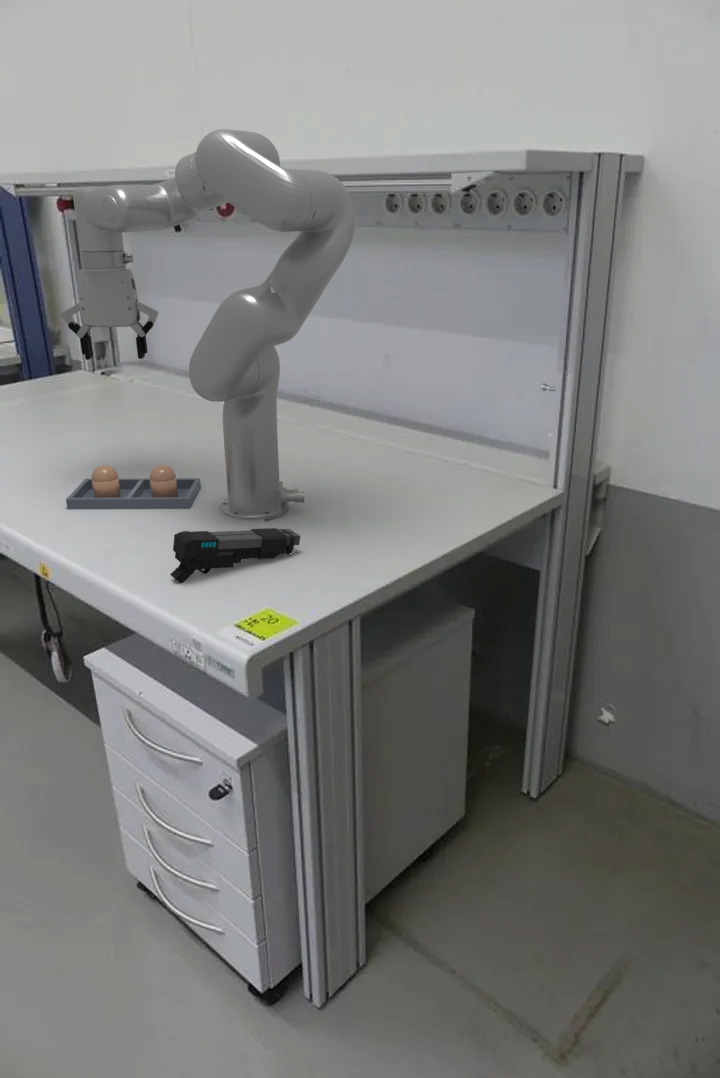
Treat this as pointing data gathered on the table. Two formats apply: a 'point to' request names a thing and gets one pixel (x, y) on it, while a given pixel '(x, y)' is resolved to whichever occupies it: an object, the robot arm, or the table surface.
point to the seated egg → (163, 482)
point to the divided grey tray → (135, 496)
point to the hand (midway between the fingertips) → (115, 358)
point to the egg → (105, 482)
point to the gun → (228, 548)
